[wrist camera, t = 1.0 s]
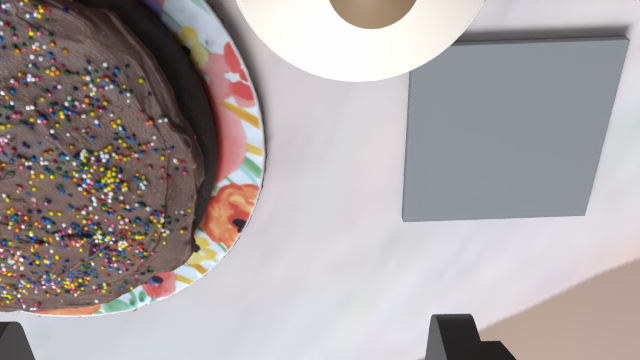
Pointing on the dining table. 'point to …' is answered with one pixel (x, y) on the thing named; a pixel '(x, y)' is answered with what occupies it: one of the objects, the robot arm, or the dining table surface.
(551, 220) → the dining table surface
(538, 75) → the mat
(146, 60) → the chocolate cake
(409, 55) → the cover
